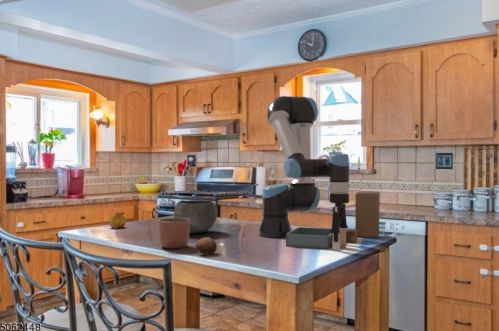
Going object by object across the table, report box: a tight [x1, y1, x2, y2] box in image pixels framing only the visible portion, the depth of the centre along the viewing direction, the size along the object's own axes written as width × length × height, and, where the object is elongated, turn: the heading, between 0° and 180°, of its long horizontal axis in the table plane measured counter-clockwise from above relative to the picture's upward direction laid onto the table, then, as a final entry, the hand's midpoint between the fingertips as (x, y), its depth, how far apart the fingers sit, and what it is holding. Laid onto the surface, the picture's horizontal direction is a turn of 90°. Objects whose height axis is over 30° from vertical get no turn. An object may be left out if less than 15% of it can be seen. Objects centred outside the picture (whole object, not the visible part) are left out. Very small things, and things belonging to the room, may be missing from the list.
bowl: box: [173, 199, 218, 234], centre depth 213 cm, size 20×20×15 cm
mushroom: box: [195, 236, 218, 256], centre depth 166 cm, size 8×8×6 cm
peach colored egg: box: [339, 229, 347, 250], centre depth 176 cm, size 5×5×7 cm
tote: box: [285, 226, 333, 250], centre depth 185 cm, size 17×19×5 cm
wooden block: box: [354, 190, 380, 239], centre depth 202 cm, size 10×10×20 cm
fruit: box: [108, 212, 127, 229], centre depth 231 cm, size 8×8×8 cm
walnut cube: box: [346, 228, 358, 244], centre depth 188 cm, size 5×5×5 cm
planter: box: [158, 217, 190, 250], centre depth 179 cm, size 12×12×11 cm
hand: (339, 247), depth 176 cm, fingers open, 12 cm apart
